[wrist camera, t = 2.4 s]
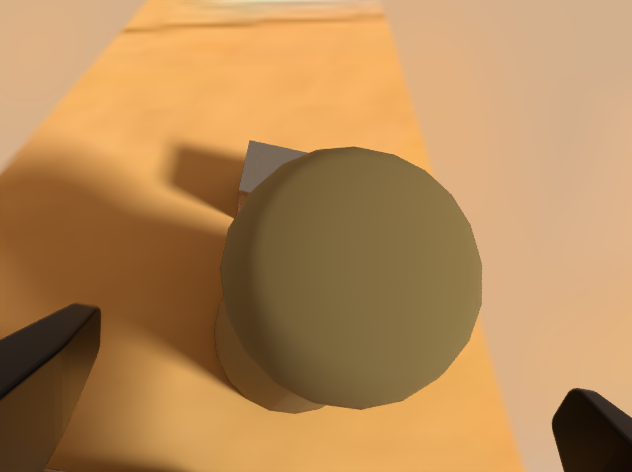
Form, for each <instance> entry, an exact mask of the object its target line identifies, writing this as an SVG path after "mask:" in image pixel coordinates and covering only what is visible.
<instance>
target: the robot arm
mask: <svg viewBox="0 0 632 472" xmlns="http://www.w3.org/2000/svg"><path fill="white" fill-rule="evenodd" d="M100 330H101V311H100V308H99V307H98V306H95V305H90V304H84V303H73V304H71V305H69V306H67V307H65V308H63V309H61V310H59V311H57V312H55V313H53V314H51V315H49V316H47V317H45V318H43V319H41V320H39V321H37V322H35V323H33V324H31V325H29V326H27V327H25V328H23V329H21V330H19V331H17V332H15V333H13V334H11V335H9V336H7V337H5V338H3V339H1V340H0V472H43V470H44V468H45V466H46V464H47V463H48V461H49V459H50V457H51V456H52V454H53V452H54V450H55V449H56V447H57V445H58V443H59V441H60V439H61V437H62V436H63V433H64V431H65V429H66V427H67V425H68V422H69V420H70V418H71V415H72V413H73V411H74V408H75V406H76V404H77V401H78V399H79V397H80V394H81V392H82V390H83V387H84V385H85V383H86V380H87V378H88V376H89V373H90V371H91V369H92V366H93V364H94V362H95V359H96V357H97V354H98V351H99V347H100ZM552 430H553V434H554V437H555V441H556V445H557V448H558V452H559V455H560V459H561V463H562V466H563V470H564V472H632V418H631V417H630V416H628V415H627V414H625V413H624V412H623V411H621V410H620V409H619V408H617V407H616V406H615V405H613V404H612V403H611V402H609V401H608V400H606V399H605V398H604V397H602V396H601V395H600V394H598V393H597V392H594V391H591V390H586V389H580V388H574V389H572V390H570V391H569V392H568V394H567V395H566V397H565V398H564V400H563V402H562V403H561V405H560V406H559V408H558V410H557V412H556V413H555V415H554V417H553V419H552Z"/></svg>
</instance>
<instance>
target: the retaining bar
mask: <svg viewBox="0 0 632 472" xmlns="http://www.w3.org/2000/svg"><path fill="white" fill-rule="evenodd" d="M306 154H308V153H306V152H302V151H297V150H292V149H288V148H283V147H278V146H274V145H269V144H264V143H260V142H255V141H251V140H250V141H249V146H248V150H247V155H246V159H245V164H244V168H243V173H242V177H241V182H240V186H239V194H238V212H239V210H240V208H241V207H242V205H243V203H244V201H245V200H246V198H247V196H248V195H249V194H250V193H251V192H252V191H253V189H254V188H255V187H257V186H258V185H259V184H260V183H261V182H262V181H264V180H265V179H266V178H267V177H268V176H269V175H271V174H272V173H273V172H274V171H275V170H276V169H278V168H279V167H280V166H281V165H282V164H284V163H286V162H289V161H291V160H294V159H296V158H299V157H301V156H303V155H306Z"/></svg>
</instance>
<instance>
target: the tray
mask: <svg viewBox="0 0 632 472" xmlns="http://www.w3.org/2000/svg"><path fill="white" fill-rule="evenodd" d="M43 472H67V471H59V470H52V469H44V470H43Z"/></svg>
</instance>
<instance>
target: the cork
mask: <svg viewBox="0 0 632 472" xmlns="http://www.w3.org/2000/svg"><path fill="white" fill-rule="evenodd" d="M220 271H221V278H222V286H223V294H224V298H223V300H222V301H221V303H220V305H219V308H218V313H217V318H216V323H215V328H214V335H215V343H216V352H217V357H218V359H219V361H220V364H221V366H222V368H223V370H224V372H225V374H226V376H227V378H228V380H229V381H230V382H231V383H232V384H233V385H234V386H235V387H236V388H237V389H238V391H239V392H240V393H241V394H242V395H243V396H244V397H245V398H246V399H248V400H250V401H252V402H254V403H256V404H258V405H260V406H262V407H264V408H266V409H268V410H271V411H278V412H286V413H293V414H296V413H301V412H306V411H311V410H316V409H320V408H322V407H324V406H325V405H330V406H337V407H345V408H352V409H359V410H362V409H366V408H371V407H376V406H381V405H385V404H390V403H395V402H400V401H403V400H405V399H406V398H408V397H409V396H411V395H413V394H414V393H416V392H417V391H419V390H421V389H422V388H424V387H425V386H427V385H429V384H430V383H432V382H433V381H435V380H437V379H438V378H439V377H440V376H441V375H442V374H443V373H444V372H445V371H446V370H447V369H448V367H449V366H450V365H451V363H452V362H453V361H454V360H455V358H456V357H457V356H458V355H459V353H460V352H461V351H462V349H463V348H464V347H465V346H466V344H467V343H468V342H469V340H470V337H471V334H472V331H473V328H474V325H475V322H476V319H477V316H478V313H479V310H480V307H481V301H482V300H481V299H482V298H481V296H482V264H481V259H480V256H479V252H478V249H477V245H476V242H475V239H474V235H473V232H472V228H471V225H470V223H469V222H468V220H467V218H466V217H465V215H464V214H463V212H462V210H461V209H460V207H459V206H458V204H457V203H456V201H455V199H454V198H453V196H452V195H451V194H450V193H449V192H448V191H447V190H446V189H445V188H444V187H443V186H442V185H440V184H439V183H438V182H437V181H436V180H435V179H434V178H433V177H432V176H431V175H430V174H428V173H427V172H426V171H425V170H423V169H421V168H419V167H417V166H415V165H413V164H411V163H409V162H407V161H405V160H404V159H402V158H400V157H398V156H396V155H393V154H388V153H383V152H378V151H373V150H369V149H364V148H358V147H345V148H333V149H322V150H316V151H313V152H311V153H308V154H306V155H303V156H301V157H299V158H296V159H294V160H291V161H289V162H286V163H284V164H282V165H281V166H280V167H279V168H278V169H276V170H275V171H274V172H273V173H272V174H271V175H269V176H268V177H267V178H266V179H265V180H264V181H262V182H261V183H260V184H259V185H258V186H257V187H255V188H254V189H253V191H252V192H251V193H250V194H249V195H248V196H247V198H246V200H245V201H244V203H243V205H242V207H241V208H240V210H239V212H238V213H237V215H236V217H235V218H234V220H233V222H232V224H231V225H230V227H229V229H228V233H227V238H226V243H225V248H224V253H223V258H222V263H221V267H220Z"/></svg>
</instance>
